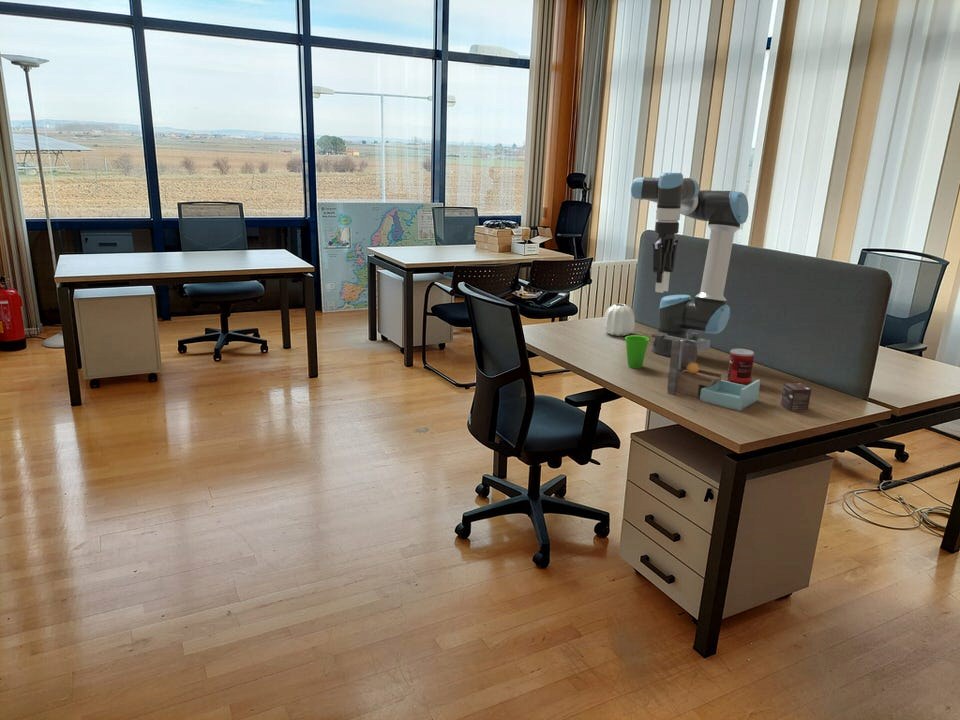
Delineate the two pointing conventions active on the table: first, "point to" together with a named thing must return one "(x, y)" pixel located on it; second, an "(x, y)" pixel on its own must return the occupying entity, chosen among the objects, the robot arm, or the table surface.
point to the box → (796, 397)
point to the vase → (619, 320)
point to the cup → (636, 350)
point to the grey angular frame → (683, 379)
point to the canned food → (740, 366)
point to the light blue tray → (731, 394)
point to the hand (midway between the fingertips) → (661, 291)
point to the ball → (692, 368)
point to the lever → (685, 347)
